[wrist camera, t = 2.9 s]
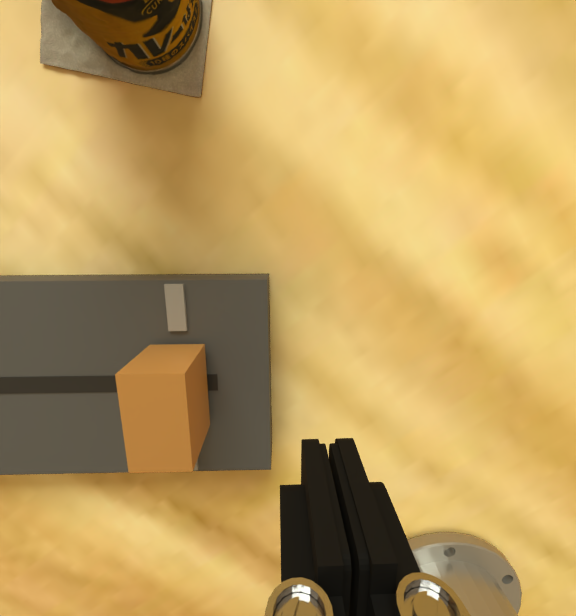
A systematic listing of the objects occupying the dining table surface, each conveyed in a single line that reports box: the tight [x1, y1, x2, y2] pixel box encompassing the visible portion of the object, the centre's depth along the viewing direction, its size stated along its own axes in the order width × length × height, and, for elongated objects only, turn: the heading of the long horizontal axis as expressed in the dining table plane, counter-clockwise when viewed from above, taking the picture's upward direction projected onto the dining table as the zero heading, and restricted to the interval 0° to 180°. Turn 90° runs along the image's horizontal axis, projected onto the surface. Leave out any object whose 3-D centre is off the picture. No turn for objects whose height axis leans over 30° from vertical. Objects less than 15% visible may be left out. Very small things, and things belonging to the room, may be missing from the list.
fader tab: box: [115, 344, 210, 473], centre depth 16 cm, size 3×5×4 cm, turn 0°
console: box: [0, 274, 272, 475], centre depth 19 cm, size 26×12×3 cm, turn 90°
